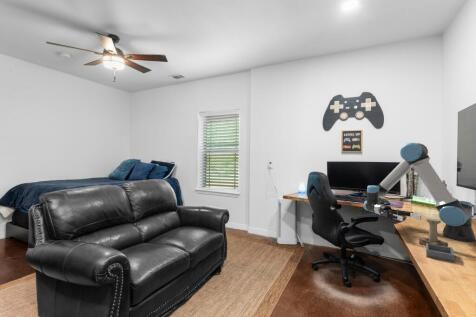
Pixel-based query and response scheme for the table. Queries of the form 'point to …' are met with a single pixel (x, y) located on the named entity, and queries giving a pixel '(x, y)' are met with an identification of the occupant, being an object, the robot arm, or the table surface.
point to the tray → (440, 252)
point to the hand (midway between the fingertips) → (411, 218)
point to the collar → (426, 240)
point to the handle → (433, 229)
